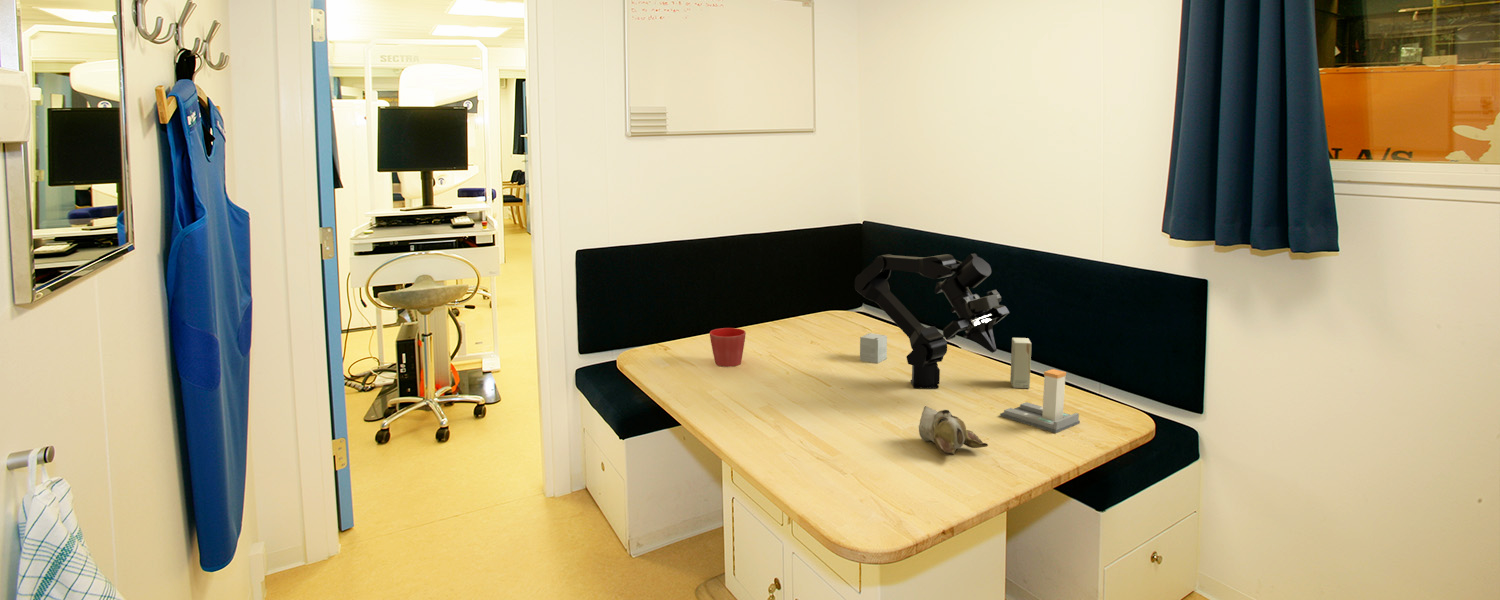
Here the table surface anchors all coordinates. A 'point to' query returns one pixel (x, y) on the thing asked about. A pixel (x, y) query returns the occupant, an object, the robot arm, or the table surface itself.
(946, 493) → the table surface
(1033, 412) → the console
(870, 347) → the skincare box
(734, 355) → the flower pot
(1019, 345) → the skincare box
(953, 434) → the ceramic sculpture
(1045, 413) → the fader knob
